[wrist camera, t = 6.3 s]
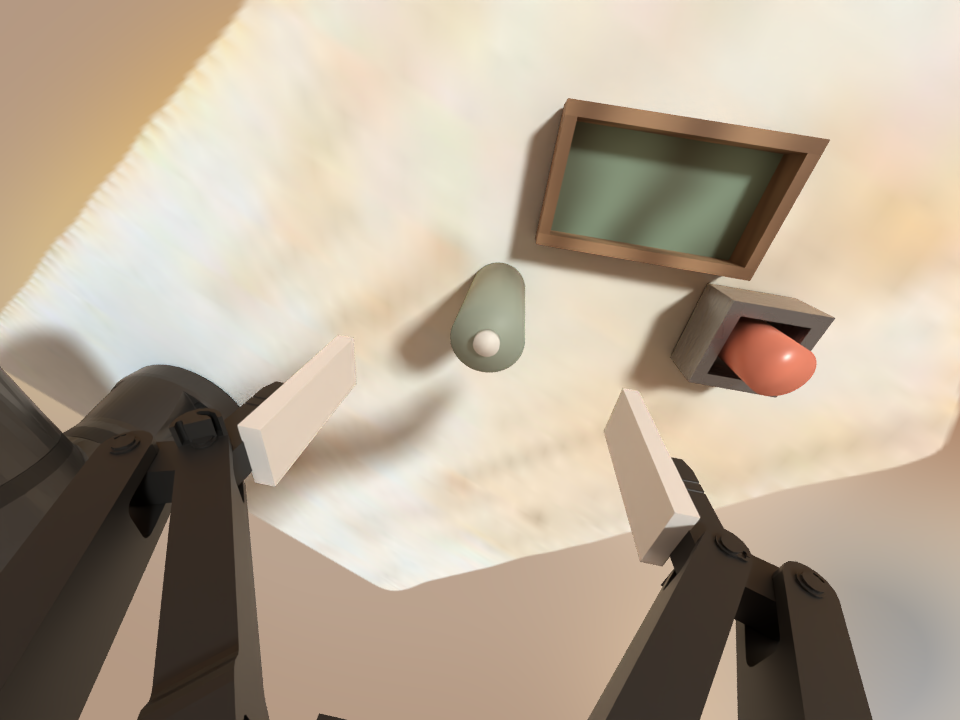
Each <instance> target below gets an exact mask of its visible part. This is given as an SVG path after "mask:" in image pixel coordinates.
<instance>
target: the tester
mask: <svg viewBox="0 0 960 720" xmlns="http://www.w3.org/2000/svg"><path fill="white" fill-rule="evenodd" d="M741 316H743V317H749V318H755V319H761V320H766V321H767V323H768V324H770V325H771V326H773V327H774V328H776V329H777V330H779V331H780V332H782V333H783V334H785V335H787V336H788V337H790V338H791V339H793V340H794V341H796V342H797V343H799V344H800V345H802V346H803V347H805V348H806V349H808V350H809V351H811V350H812V349H813V347H814V346H815V345H816V343H817V342H818V341H819V339H820V338H821V337H822V335H823V334H824V333H825V331H826V330H827V329H828V327H829V326H830V325H831V323H832V322H833V321H834V319H835V318H834V317H832V316H830V315H828V314H826V313H824V312H822V311H820V310H818V309H816V308H814V307H812V306H810V305H808V304H806V303H804V302H802V301H800V300H798V299H796V298H790V297H785V296H779V295H773V294H767V293H761V292H756V291H750V290H744V289H738V288H732V287H727V286H721V285H715V284H709V283H708V284H707V286H706V288H705V290H704V292H703V294H702V296H701V298H700V300H699V302H698V304H697V306H696V308H695V310H694V312H693V314H692V316H691V317H690V319H689V321H688V323H687V325H686V327H685V329H684V331H683V333H682V335H681V337H680V339H679V341H678V343H677V345H676V347H675V349H674V351H673V353H672V355H671V357H670V358H671V359H672V360H673V362H674V363H675V364H676V366H677V367H678V368H679V370H680V371H681V372H682V374H683V375H684V376H685V378H686V379H687V380H688V382H693V383H698V384H704V385H709V386H715V387H720V388H726V389H731V390H737V391H742V392H748V393H754V394H758V393H756V392H754V391H753V390H752V389H751V388H750V387H749V386H748V385H747V384H746V383H745V382H744V381H743V380H742V379H741V378H740V377H739V376H738V375H737V374H736V373H735V372H734V371H733V370H732V369H731V368H730V367H729V366H728V365H727V364H726V363H725V362H724V361H723V360H722V359H721V358H720V357H718V354H719V353H720V351H721V349H722V348H723V346H724V344H725V342H726V341H727V339H728V337H729V336H730V334H731V332H732V330H733V329H734V327H735V325H736V324H737V322H738V320H739V319H740V317H741ZM759 395H760V394H759ZM770 397H777V396H770Z"/></svg>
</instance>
